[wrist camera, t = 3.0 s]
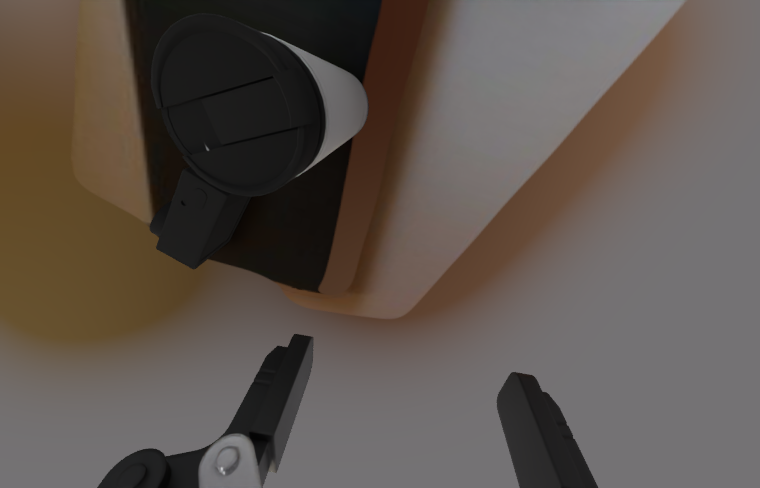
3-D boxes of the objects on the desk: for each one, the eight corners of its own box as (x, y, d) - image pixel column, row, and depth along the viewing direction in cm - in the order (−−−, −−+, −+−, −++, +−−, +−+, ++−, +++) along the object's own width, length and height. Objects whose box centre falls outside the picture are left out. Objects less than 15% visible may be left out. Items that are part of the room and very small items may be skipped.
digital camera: (217, 147, 30) (169, 159, 24) (261, 176, 31) (227, 195, 25) (189, 217, 35) (143, 242, 28) (229, 240, 36) (193, 270, 30)
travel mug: (378, 131, 28) (335, 186, 11) (317, 145, 29) (187, 215, 12) (363, 60, 25) (272, -28, 8) (297, 78, 27) (86, 38, 9)
